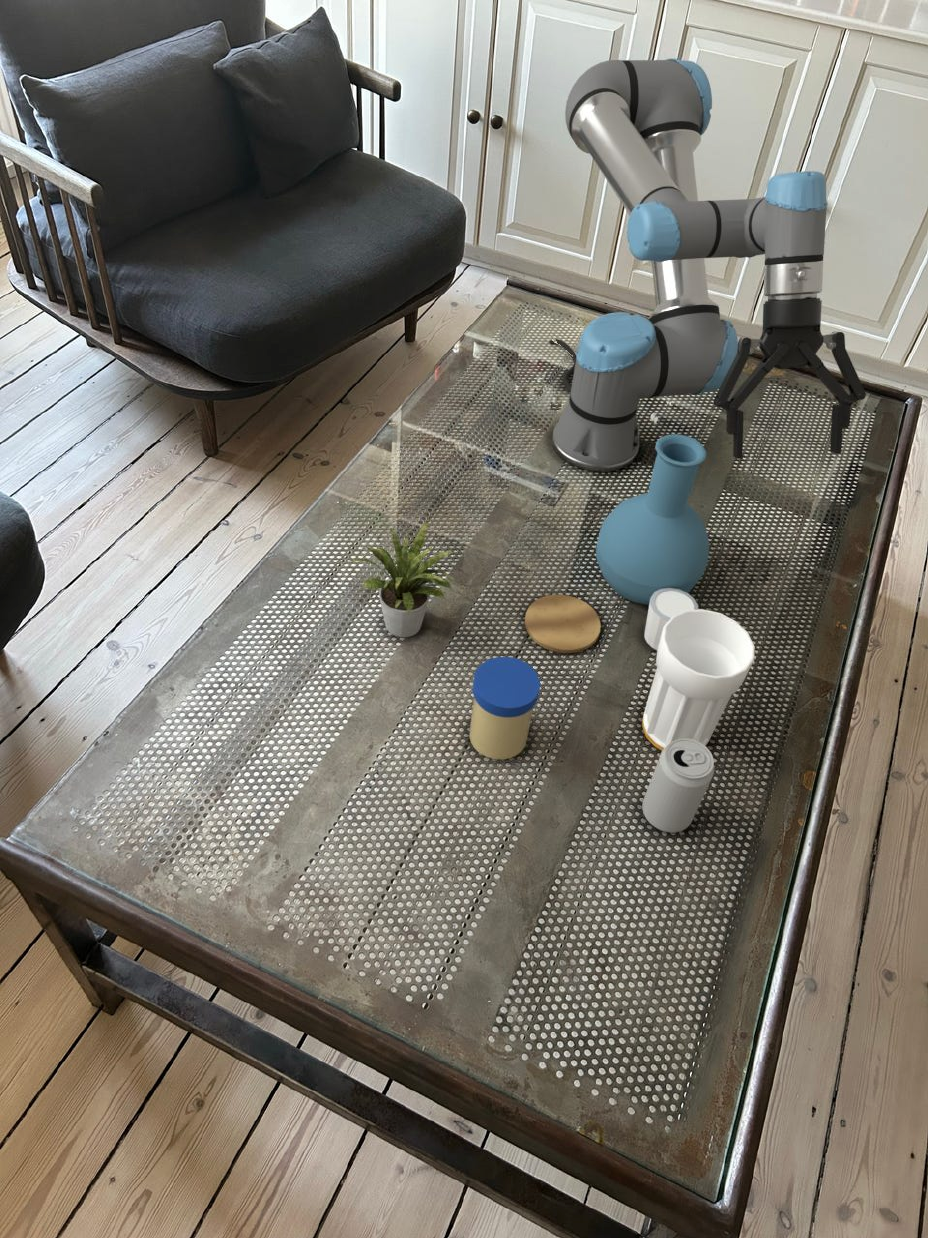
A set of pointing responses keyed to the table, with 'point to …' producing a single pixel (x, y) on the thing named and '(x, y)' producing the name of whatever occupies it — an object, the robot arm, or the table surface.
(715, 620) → the cup
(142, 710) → the table surface
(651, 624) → the shot glass
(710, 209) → the robot arm
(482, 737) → the jar
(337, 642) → the table surface
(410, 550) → the house plant
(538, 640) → the coaster
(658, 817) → the beverage can
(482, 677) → the jar lid
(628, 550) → the vase
